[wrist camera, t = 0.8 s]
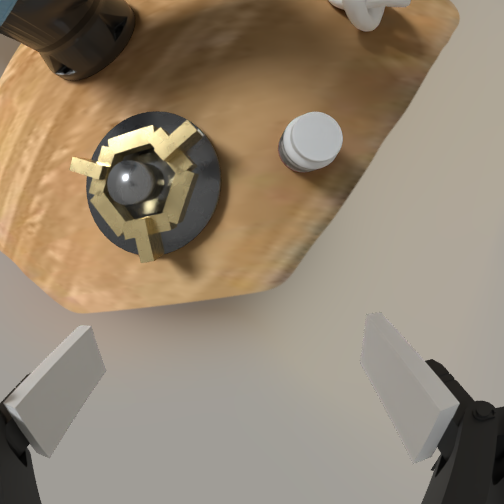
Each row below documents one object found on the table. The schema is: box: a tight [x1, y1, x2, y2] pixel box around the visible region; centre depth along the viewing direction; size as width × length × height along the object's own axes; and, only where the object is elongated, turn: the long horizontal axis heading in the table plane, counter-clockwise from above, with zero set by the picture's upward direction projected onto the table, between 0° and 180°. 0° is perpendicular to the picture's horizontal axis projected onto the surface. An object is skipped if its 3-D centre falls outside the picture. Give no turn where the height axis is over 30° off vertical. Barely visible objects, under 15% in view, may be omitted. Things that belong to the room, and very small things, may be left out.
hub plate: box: [86, 111, 221, 254], centre depth 33 cm, size 18×18×2 cm
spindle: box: [107, 160, 164, 205], centre depth 30 cm, size 5×5×8 cm
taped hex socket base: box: [70, 120, 203, 263], centre depth 30 cm, size 15×16×4 cm
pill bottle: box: [278, 112, 343, 172], centre depth 28 cm, size 6×6×10 cm
